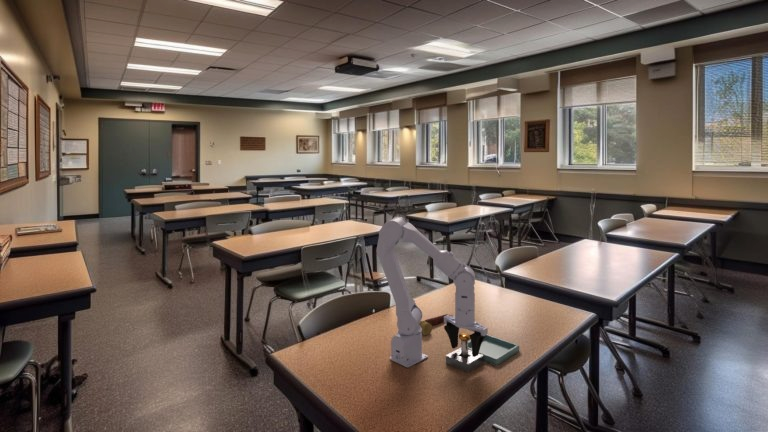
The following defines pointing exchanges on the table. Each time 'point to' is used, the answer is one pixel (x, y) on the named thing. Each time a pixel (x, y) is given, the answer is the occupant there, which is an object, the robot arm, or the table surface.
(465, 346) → the steel pin
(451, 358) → the block
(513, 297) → the table surface
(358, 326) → the table surface
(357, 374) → the table surface
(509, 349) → the tray
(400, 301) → the robot arm
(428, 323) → the gavel
